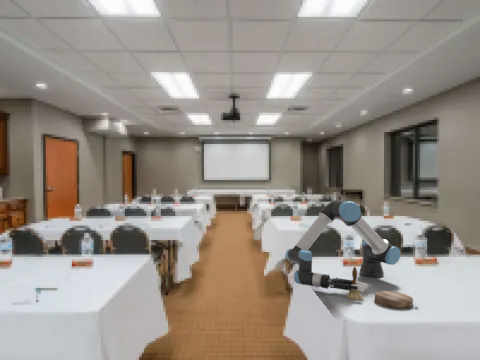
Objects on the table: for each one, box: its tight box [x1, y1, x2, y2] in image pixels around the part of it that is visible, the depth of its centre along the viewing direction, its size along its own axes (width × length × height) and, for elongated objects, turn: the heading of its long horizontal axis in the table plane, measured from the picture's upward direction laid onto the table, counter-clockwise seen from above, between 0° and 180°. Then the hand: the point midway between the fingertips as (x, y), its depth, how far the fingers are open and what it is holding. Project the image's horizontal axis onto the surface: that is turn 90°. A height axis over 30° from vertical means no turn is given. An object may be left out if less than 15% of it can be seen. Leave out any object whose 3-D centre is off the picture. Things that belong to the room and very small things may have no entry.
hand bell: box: [346, 266, 363, 301], centre depth 188 cm, size 8×8×16 cm
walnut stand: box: [374, 290, 414, 310], centre depth 180 cm, size 18×18×3 cm
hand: (364, 287), depth 185 cm, fingers closed on hand bell, 4 cm apart
